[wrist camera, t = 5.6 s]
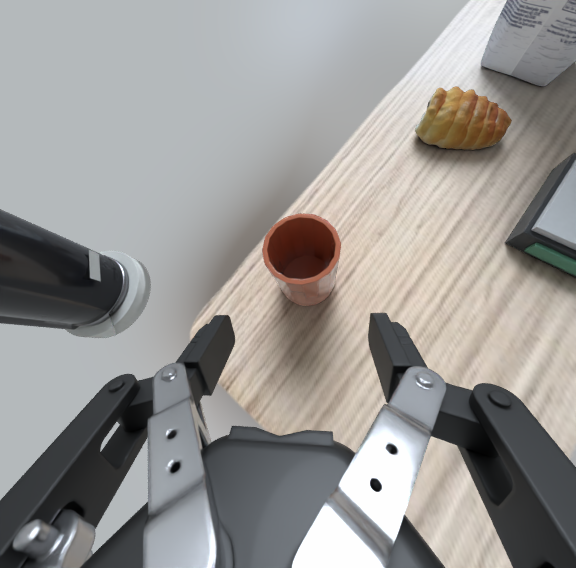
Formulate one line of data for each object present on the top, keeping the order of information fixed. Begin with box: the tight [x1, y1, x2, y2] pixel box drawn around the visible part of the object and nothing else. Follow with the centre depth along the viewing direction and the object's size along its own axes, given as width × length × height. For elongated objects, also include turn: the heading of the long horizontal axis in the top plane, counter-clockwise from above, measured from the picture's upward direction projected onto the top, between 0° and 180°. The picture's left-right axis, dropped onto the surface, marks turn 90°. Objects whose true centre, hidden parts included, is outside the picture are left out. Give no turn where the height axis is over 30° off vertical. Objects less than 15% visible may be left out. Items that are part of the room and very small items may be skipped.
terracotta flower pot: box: [262, 213, 341, 306], centre depth 20 cm, size 6×6×8 cm
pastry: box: [415, 87, 512, 150], centre depth 25 cm, size 9×7×4 cm
